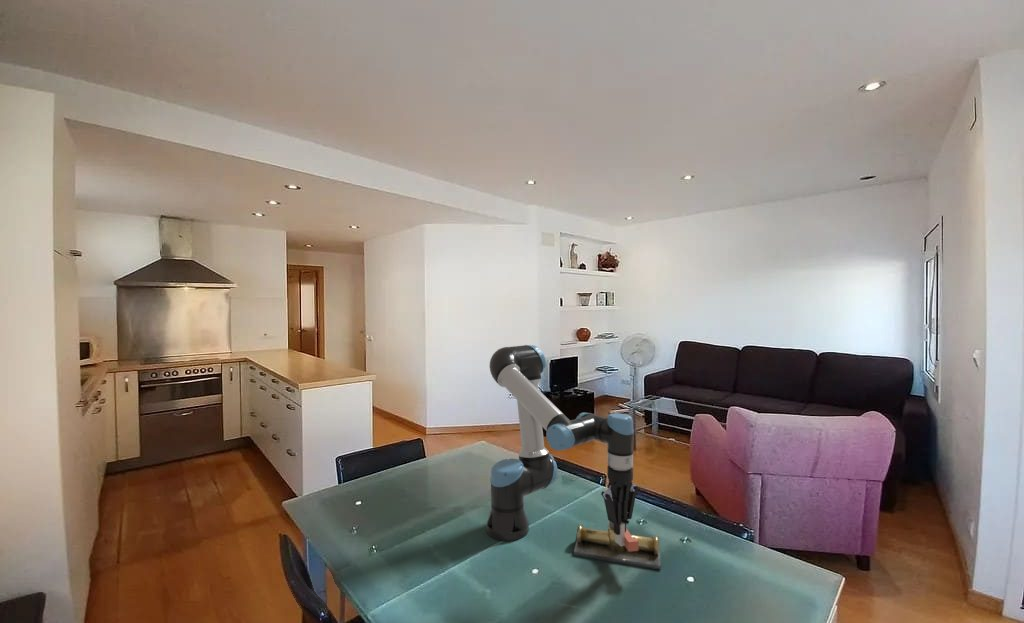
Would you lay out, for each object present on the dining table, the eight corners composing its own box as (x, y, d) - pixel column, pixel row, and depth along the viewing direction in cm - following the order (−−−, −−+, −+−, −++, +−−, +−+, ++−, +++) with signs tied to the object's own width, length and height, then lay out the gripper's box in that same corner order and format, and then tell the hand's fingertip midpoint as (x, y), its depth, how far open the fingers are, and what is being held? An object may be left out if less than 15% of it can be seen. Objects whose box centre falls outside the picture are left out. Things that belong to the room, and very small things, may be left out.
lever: (625, 552, 120) (625, 542, 120) (607, 523, 135) (607, 514, 135) (641, 550, 120) (641, 541, 120) (621, 522, 136) (621, 514, 136)
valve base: (573, 555, 130) (573, 533, 130) (579, 531, 144) (579, 512, 144) (660, 569, 123) (660, 546, 123) (658, 543, 136) (658, 522, 136)
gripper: (612, 474, 118) (611, 556, 118) (645, 466, 124) (644, 544, 124) (595, 465, 125) (595, 542, 125) (627, 458, 131) (627, 532, 131)
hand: (619, 543), depth 124 cm, fingers closed
